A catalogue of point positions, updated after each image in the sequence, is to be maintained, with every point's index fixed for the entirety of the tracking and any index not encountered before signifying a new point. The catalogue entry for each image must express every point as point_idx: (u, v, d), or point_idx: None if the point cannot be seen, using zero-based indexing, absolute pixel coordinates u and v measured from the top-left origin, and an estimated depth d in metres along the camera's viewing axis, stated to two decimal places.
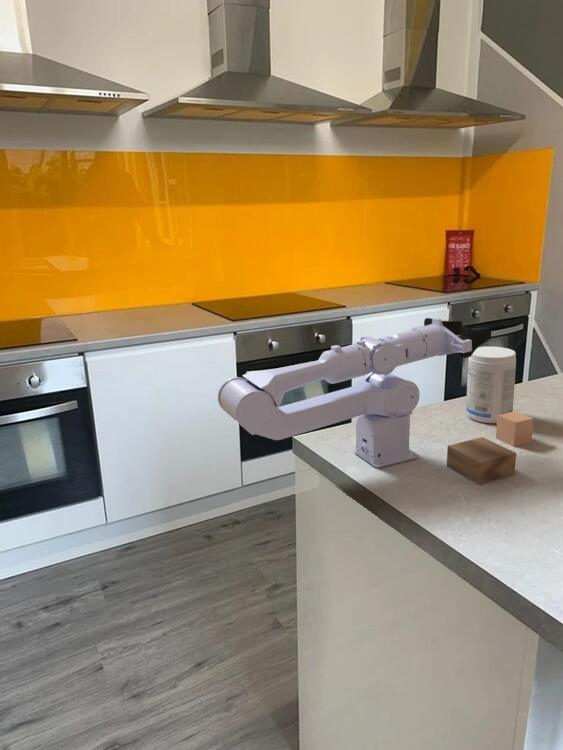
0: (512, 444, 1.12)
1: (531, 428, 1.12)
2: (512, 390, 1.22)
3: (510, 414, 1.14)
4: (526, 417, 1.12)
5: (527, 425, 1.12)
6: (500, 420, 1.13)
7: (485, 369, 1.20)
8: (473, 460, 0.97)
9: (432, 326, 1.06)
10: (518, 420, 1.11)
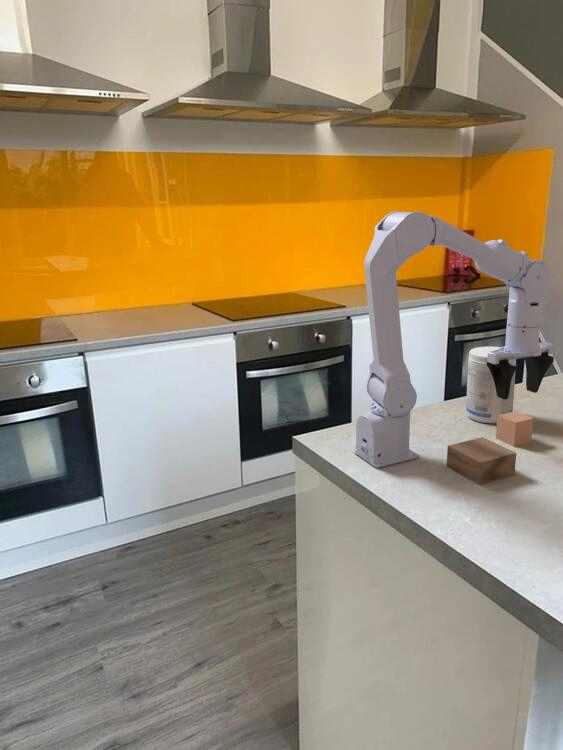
0: (512, 444, 1.12)
1: (531, 428, 1.12)
2: (512, 390, 1.22)
3: (510, 414, 1.14)
4: (526, 417, 1.12)
5: (527, 425, 1.12)
6: (500, 420, 1.13)
7: (485, 369, 1.20)
8: (473, 460, 0.97)
9: (532, 346, 1.06)
10: (518, 420, 1.11)
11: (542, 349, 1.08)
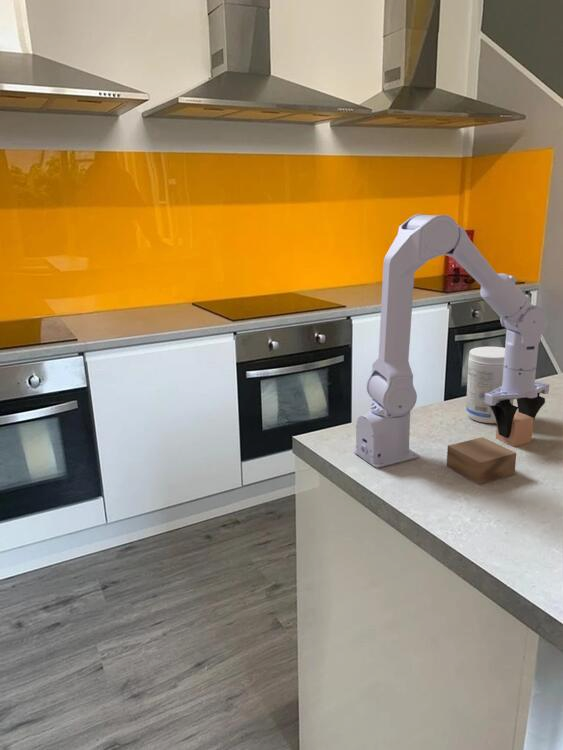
0: (512, 444, 1.12)
1: (531, 428, 1.12)
2: None
3: None
4: (526, 417, 1.12)
5: (527, 424, 1.12)
6: None
7: (485, 369, 1.20)
8: (473, 460, 0.97)
9: (528, 387, 1.08)
10: (518, 419, 1.11)
11: (538, 390, 1.11)
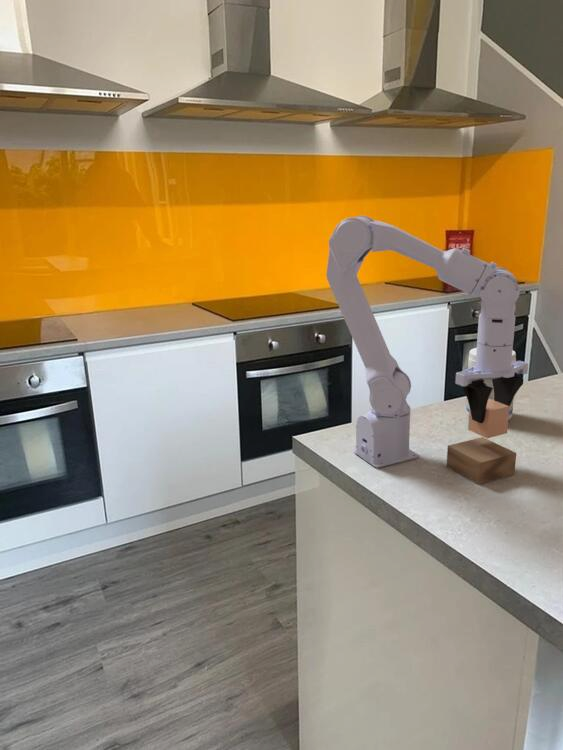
0: (486, 435, 1.00)
1: (507, 417, 1.01)
2: None
3: None
4: (501, 405, 1.01)
5: (503, 414, 1.00)
6: None
7: None
8: (473, 460, 0.97)
9: (504, 366, 0.96)
10: (492, 408, 0.99)
11: (515, 369, 0.99)
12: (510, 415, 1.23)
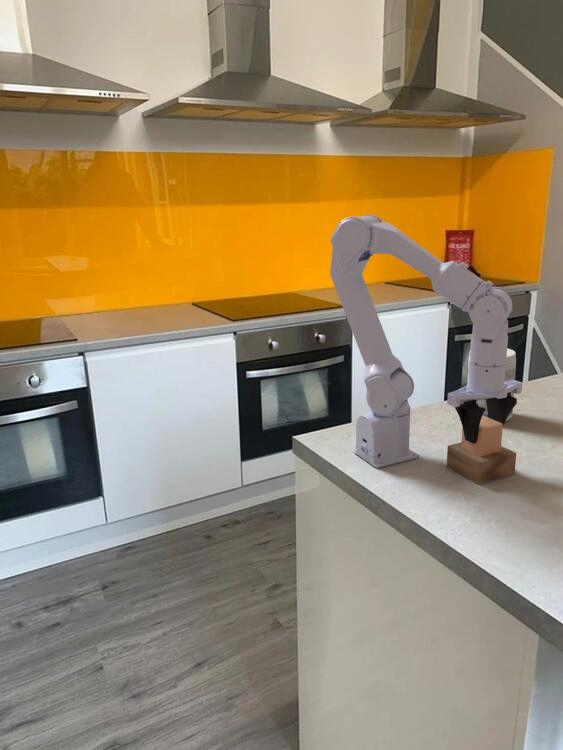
0: (478, 453, 0.98)
1: (500, 435, 0.99)
2: None
3: None
4: (495, 422, 0.99)
5: (496, 431, 0.99)
6: None
7: None
8: (473, 460, 0.97)
9: (497, 386, 0.95)
10: (485, 426, 0.98)
11: (509, 389, 0.97)
12: (510, 415, 1.23)
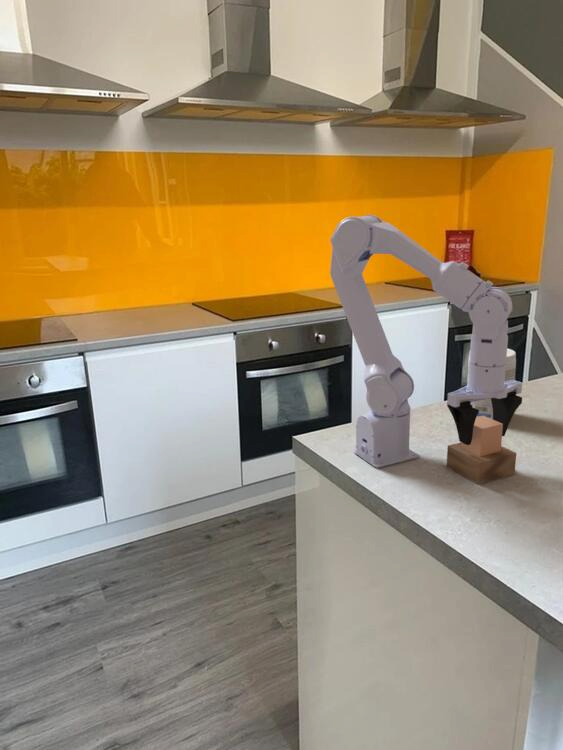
0: (478, 453, 0.98)
1: (500, 435, 0.99)
2: None
3: (477, 419, 1.01)
4: (495, 422, 0.99)
5: (496, 431, 0.99)
6: None
7: None
8: (473, 460, 0.97)
9: (497, 386, 0.95)
10: (485, 426, 0.98)
11: (509, 389, 0.97)
12: None
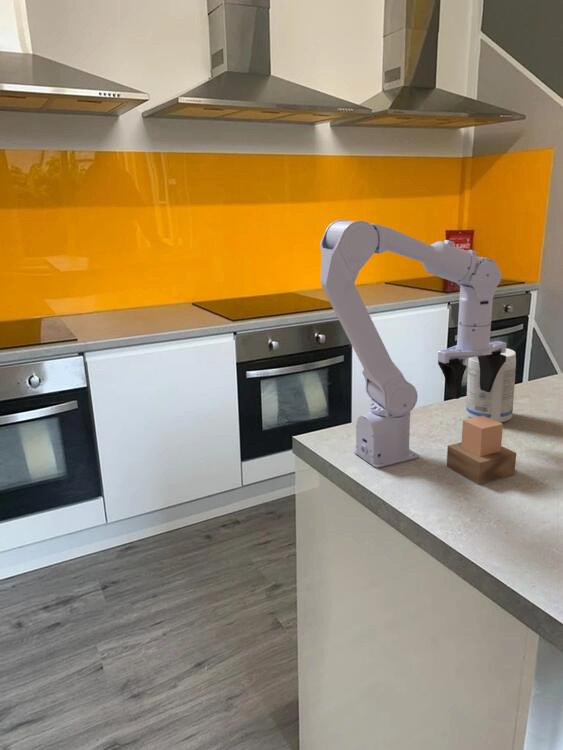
0: (478, 453, 0.98)
1: (500, 435, 0.99)
2: (512, 390, 1.22)
3: (477, 419, 1.01)
4: (495, 422, 0.99)
5: (496, 431, 0.99)
6: (466, 426, 1.00)
7: None
8: (473, 460, 0.97)
9: (483, 344, 1.05)
10: (485, 426, 0.98)
11: (494, 348, 1.07)
12: (510, 415, 1.23)
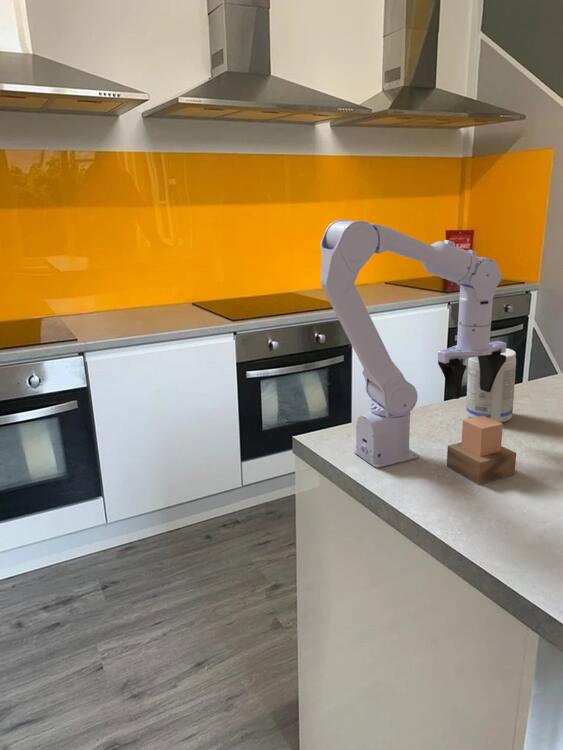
0: (478, 453, 0.98)
1: (500, 435, 0.99)
2: (512, 390, 1.22)
3: (477, 419, 1.01)
4: (495, 422, 0.99)
5: (496, 431, 0.99)
6: (466, 426, 1.00)
7: None
8: (473, 460, 0.97)
9: (482, 344, 1.05)
10: (485, 426, 0.98)
11: (494, 348, 1.07)
12: (510, 415, 1.23)
